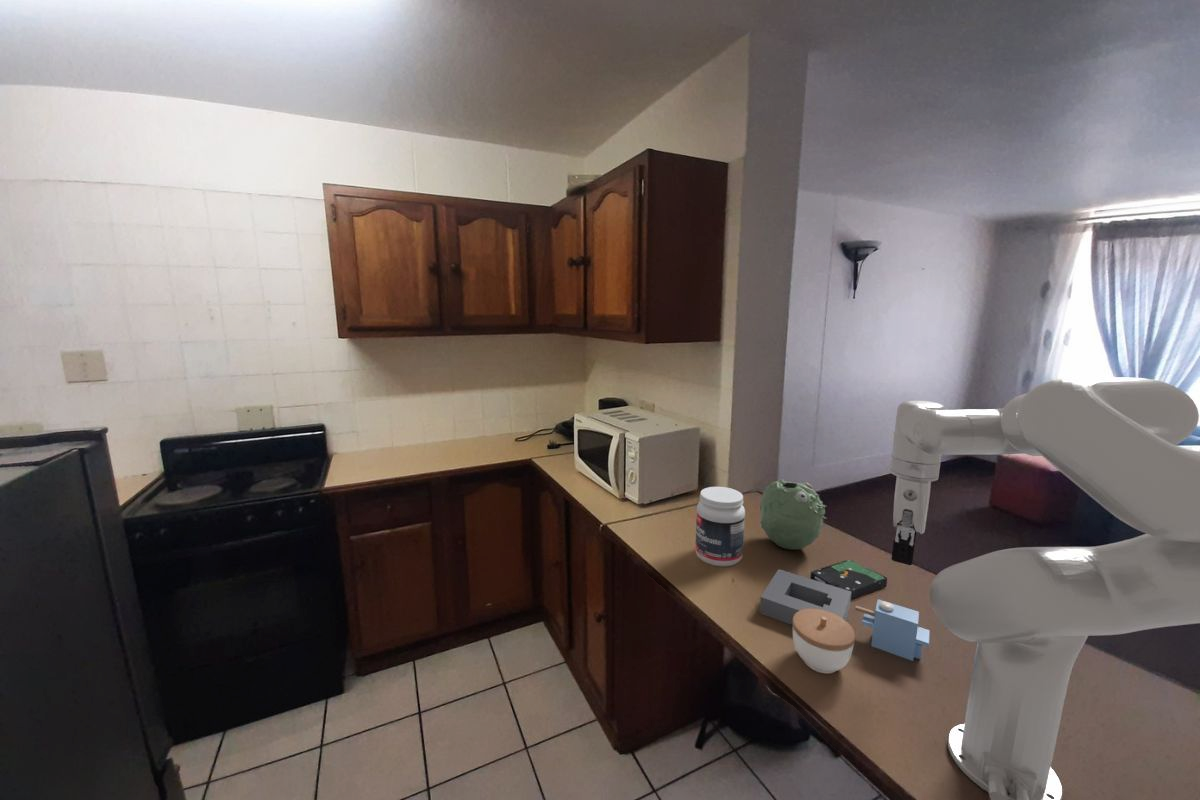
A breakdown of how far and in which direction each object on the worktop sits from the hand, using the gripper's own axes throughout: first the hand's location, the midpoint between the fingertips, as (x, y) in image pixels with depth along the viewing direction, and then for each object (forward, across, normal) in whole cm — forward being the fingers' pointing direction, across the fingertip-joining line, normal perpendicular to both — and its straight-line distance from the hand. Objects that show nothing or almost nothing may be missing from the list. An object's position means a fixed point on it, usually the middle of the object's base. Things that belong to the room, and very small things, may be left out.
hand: (903, 551), depth 88 cm
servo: (+21, 0, 0) cm, 21 cm away
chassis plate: (+21, +2, +17) cm, 27 cm away
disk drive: (+22, +20, +11) cm, 31 cm away
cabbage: (+21, +30, +28) cm, 46 cm away
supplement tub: (+21, +13, +42) cm, 48 cm away
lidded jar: (+21, -13, +11) cm, 27 cm away
